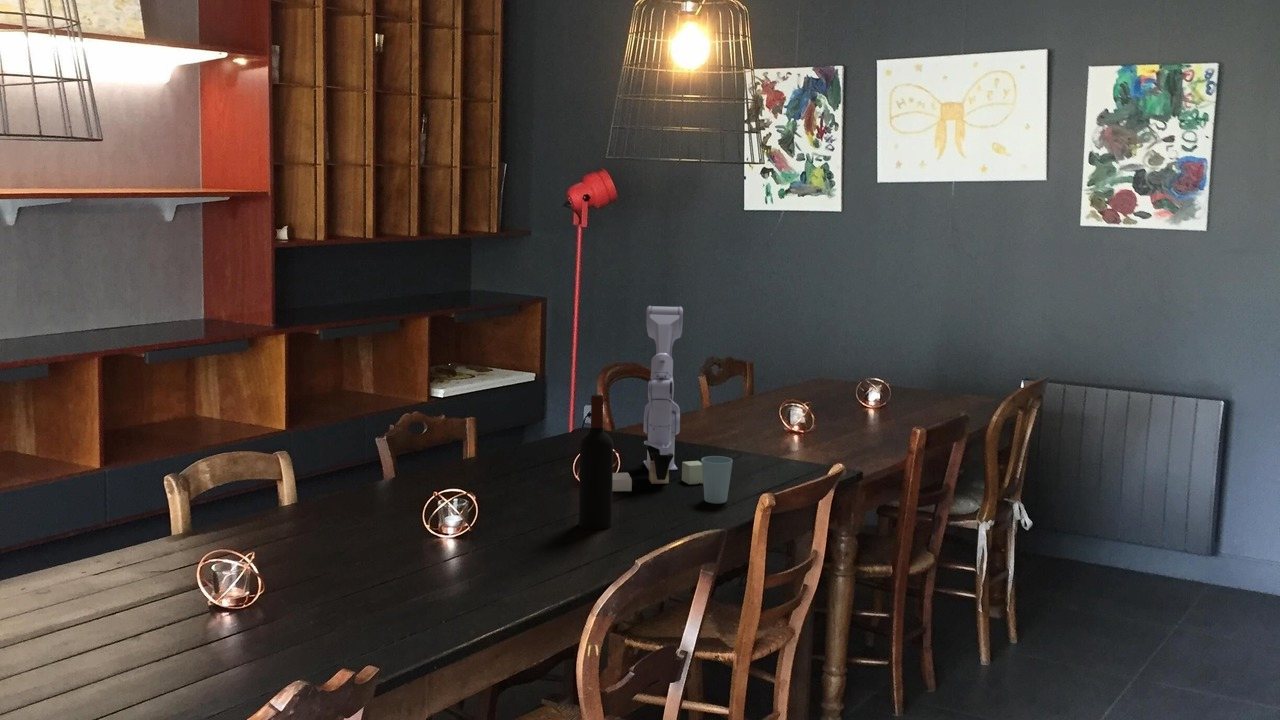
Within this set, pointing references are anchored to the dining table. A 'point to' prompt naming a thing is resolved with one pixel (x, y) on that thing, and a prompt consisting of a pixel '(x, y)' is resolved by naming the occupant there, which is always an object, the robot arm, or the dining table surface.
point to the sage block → (692, 472)
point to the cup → (716, 478)
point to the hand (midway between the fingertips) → (658, 475)
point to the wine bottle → (596, 472)
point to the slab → (622, 482)
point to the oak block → (653, 474)
